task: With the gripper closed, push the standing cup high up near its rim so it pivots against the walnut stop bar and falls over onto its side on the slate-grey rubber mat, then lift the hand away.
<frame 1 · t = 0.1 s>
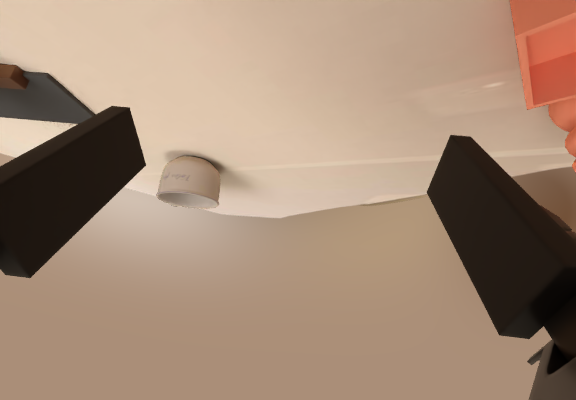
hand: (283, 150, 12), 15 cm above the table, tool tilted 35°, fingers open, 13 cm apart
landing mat: (4, 95, 39), on the table
teacup: (192, 163, 55), on the table
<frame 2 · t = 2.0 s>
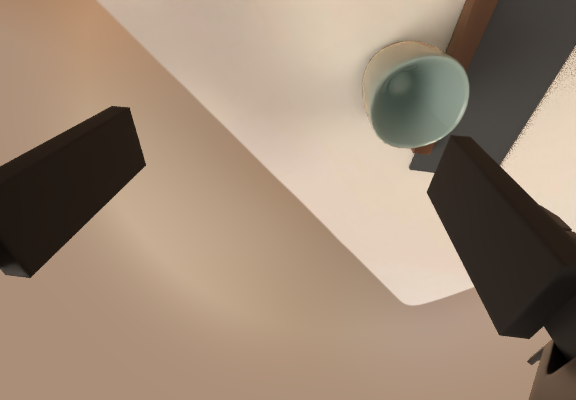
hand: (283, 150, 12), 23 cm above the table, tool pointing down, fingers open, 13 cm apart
stop bar: (444, 81, 31), on the table
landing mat: (493, 86, 31), on the table
cup: (393, 74, 31), on the table
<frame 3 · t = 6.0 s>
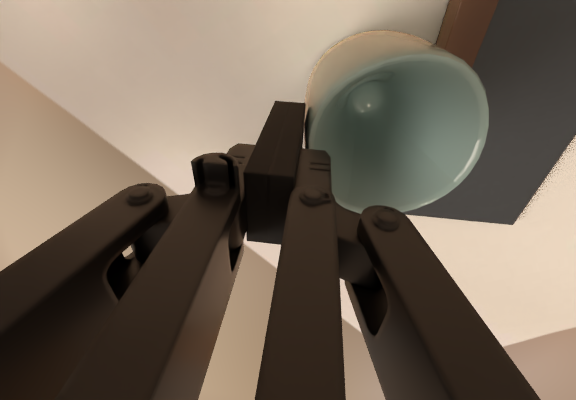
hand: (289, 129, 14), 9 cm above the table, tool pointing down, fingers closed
stop bar: (435, 90, 20), on the table
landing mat: (512, 95, 20), on the table
cup: (357, 84, 20), on the table
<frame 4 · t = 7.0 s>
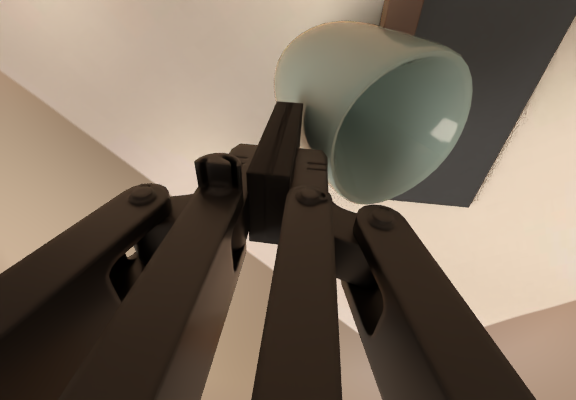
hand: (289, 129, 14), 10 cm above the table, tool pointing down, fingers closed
stop bar: (383, 73, 21), on the table
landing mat: (456, 79, 21), on the table
cup: (310, 74, 20), point 1 cm above the table, touching gripper, stop bar
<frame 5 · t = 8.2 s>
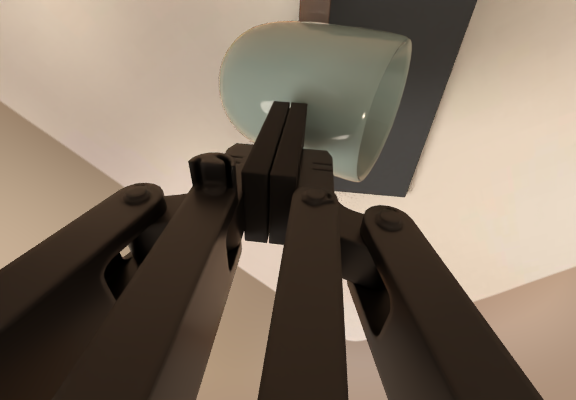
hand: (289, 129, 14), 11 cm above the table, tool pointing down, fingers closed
stop bar: (310, 70, 22), on the table
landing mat: (376, 75, 22), on the table
cup: (239, 79, 19), point 4 cm above the table, touching gripper, stop bar
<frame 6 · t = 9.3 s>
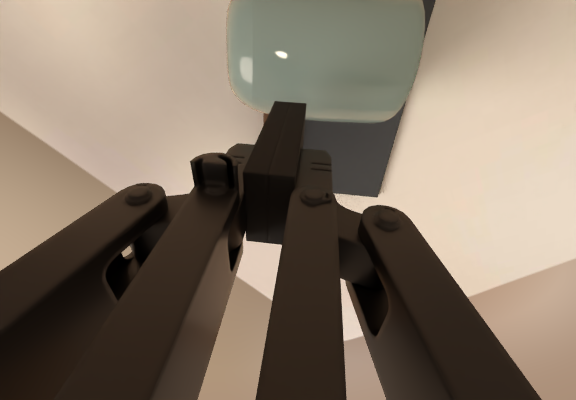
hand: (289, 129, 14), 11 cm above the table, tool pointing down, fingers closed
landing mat: (343, 77, 23), on the table
cup: (224, 48, 17), point 7 cm above the table, touching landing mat, stop bar
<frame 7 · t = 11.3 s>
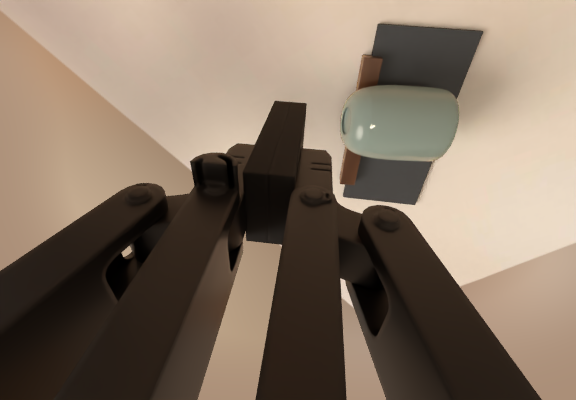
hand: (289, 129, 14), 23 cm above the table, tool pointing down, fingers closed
stop bar: (357, 124, 36), on the table
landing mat: (399, 128, 36), on the table
cup: (343, 120, 30), point 7 cm above the table, touching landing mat, stop bar
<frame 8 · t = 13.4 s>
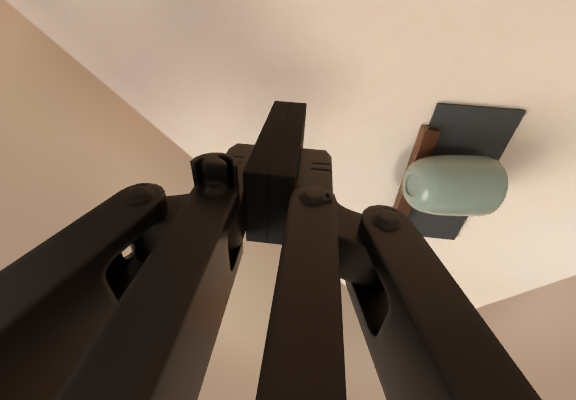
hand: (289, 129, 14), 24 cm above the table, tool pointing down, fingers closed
stop bar: (410, 177, 42), on the table
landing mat: (446, 180, 42), on the table
cup: (409, 184, 35), point 7 cm above the table, touching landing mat, stop bar
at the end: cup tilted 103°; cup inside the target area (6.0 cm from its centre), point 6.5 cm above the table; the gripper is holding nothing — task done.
